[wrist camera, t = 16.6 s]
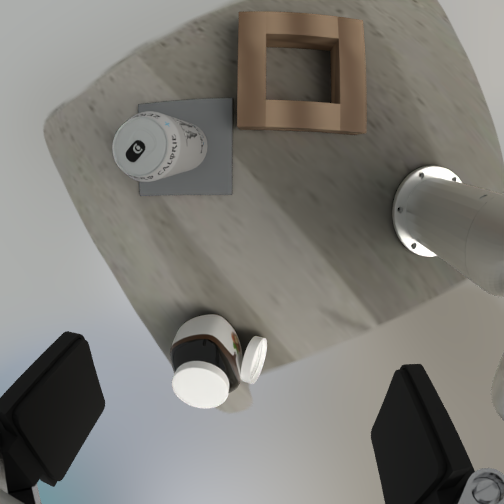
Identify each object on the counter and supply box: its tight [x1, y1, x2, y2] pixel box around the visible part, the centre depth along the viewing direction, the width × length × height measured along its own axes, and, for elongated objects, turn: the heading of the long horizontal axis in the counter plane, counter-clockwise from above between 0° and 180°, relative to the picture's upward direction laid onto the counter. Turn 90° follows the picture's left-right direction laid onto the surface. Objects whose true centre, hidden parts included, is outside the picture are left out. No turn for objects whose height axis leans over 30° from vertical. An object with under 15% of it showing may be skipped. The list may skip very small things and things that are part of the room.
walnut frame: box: [237, 12, 367, 135], centre depth 32 cm, size 14×14×5 cm
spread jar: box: [170, 314, 267, 408], centre depth 40 cm, size 12×11×12 cm
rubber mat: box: [138, 98, 233, 196], centre depth 37 cm, size 12×12×1 cm
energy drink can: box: [112, 111, 208, 182], centre depth 30 cm, size 6×6×15 cm
